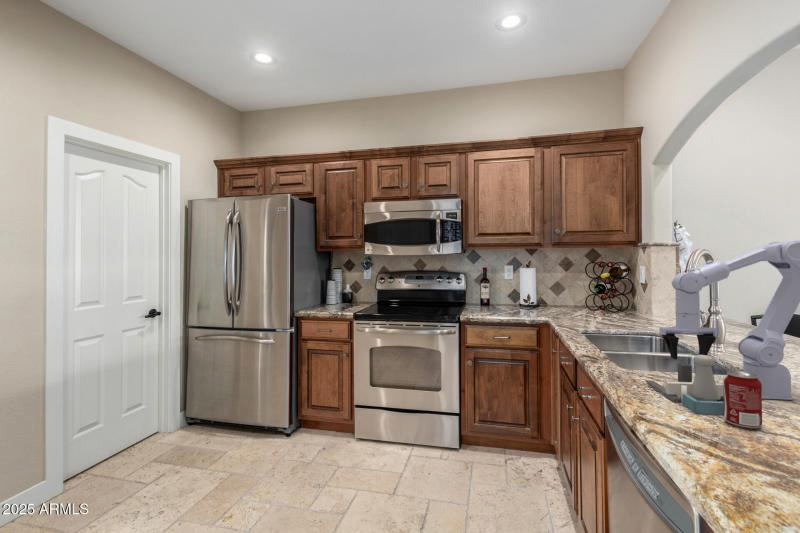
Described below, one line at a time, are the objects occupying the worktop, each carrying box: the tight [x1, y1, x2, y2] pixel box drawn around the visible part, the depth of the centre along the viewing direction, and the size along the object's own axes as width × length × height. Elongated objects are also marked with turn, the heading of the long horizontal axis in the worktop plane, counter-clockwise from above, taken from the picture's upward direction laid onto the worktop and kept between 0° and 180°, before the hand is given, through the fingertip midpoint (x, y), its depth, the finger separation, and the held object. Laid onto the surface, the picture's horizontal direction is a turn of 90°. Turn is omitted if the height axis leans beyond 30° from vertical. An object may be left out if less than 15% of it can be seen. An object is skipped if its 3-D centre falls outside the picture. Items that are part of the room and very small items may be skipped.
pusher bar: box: [665, 363, 723, 401], centre depth 111 cm, size 15×8×8 cm, turn 79°
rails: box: [645, 379, 724, 404], centre depth 112 cm, size 15×17×1 cm
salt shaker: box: [691, 354, 719, 402], centre depth 104 cm, size 6×6×13 cm
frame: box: [680, 385, 724, 416], centre depth 100 cm, size 12×7×5 cm, turn 79°
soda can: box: [722, 369, 763, 430], centre depth 91 cm, size 7×7×12 cm
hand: (688, 358), depth 115 cm, fingers open, 7 cm apart
